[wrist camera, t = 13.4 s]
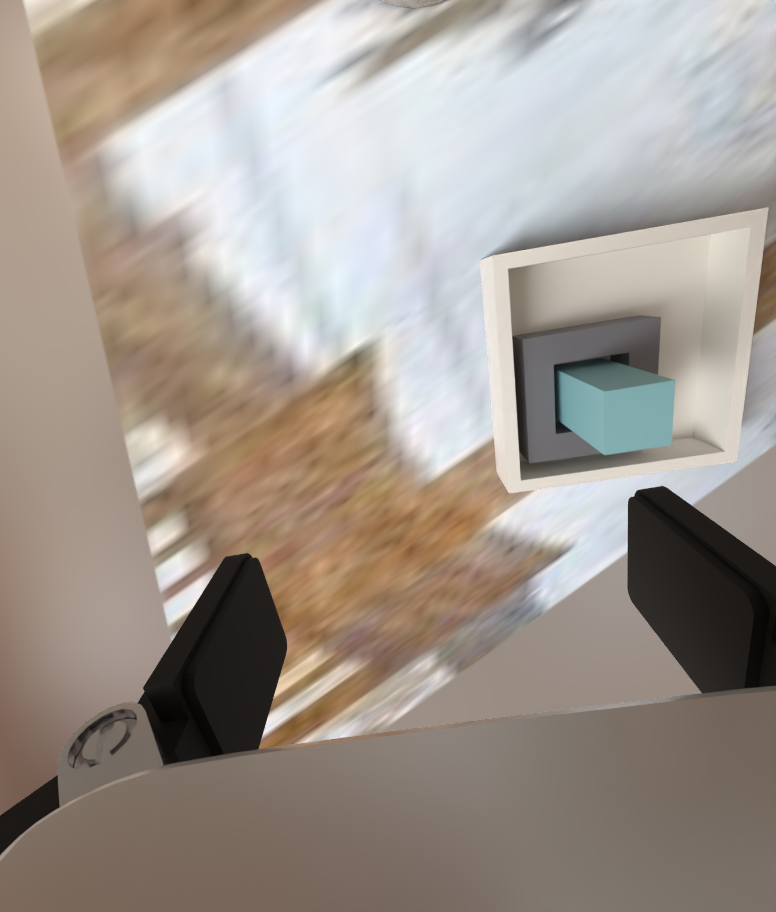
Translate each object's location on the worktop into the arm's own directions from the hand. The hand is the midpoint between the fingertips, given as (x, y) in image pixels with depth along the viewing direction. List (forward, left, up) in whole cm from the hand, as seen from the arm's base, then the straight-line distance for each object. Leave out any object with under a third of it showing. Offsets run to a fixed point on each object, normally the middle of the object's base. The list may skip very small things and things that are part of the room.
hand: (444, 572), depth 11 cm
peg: (+3, +14, -27) cm, 31 cm away
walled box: (+1, +16, -28) cm, 32 cm away
